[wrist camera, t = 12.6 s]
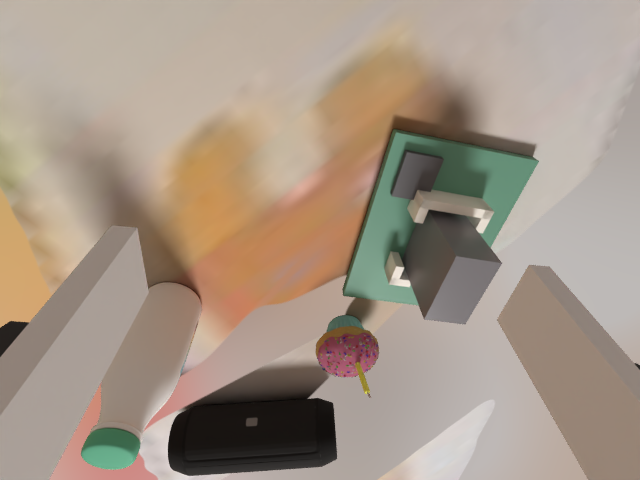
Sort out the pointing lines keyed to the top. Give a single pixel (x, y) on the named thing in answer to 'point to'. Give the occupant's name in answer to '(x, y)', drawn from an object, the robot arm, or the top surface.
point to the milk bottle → (143, 374)
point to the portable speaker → (253, 437)
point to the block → (448, 266)
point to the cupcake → (347, 349)
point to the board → (429, 204)
